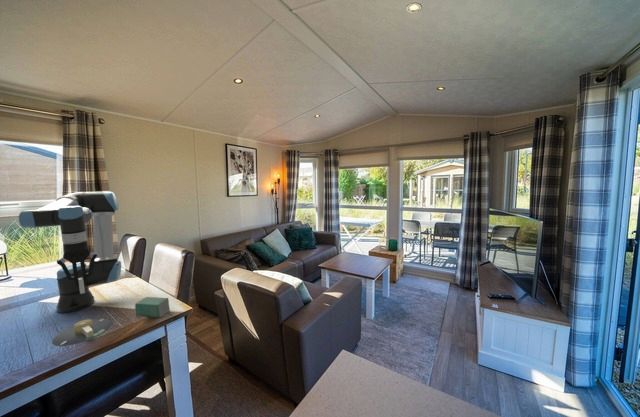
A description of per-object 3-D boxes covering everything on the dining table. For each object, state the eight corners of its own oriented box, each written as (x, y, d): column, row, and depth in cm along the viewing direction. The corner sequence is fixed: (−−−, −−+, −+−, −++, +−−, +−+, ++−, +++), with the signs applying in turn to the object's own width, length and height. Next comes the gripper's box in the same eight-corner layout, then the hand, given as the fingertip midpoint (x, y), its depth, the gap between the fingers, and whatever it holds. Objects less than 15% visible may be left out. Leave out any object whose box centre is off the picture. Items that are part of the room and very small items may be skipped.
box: (147, 309, 134) (145, 296, 133) (170, 310, 133) (168, 297, 132) (135, 316, 127) (134, 303, 126) (159, 318, 126) (158, 304, 125)
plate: (38, 347, 104) (37, 344, 104) (86, 320, 124) (85, 317, 124) (82, 349, 103) (81, 346, 102) (123, 321, 122) (123, 318, 122)
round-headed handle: (73, 332, 112) (72, 324, 112) (90, 325, 117) (89, 317, 117) (82, 342, 105) (80, 334, 104) (100, 335, 110) (99, 327, 109)
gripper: (53, 246, 100) (62, 300, 103) (96, 240, 109) (102, 290, 113) (53, 243, 105) (61, 294, 108) (94, 237, 114) (100, 284, 118)
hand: (82, 292), depth 110 cm, fingers closed
